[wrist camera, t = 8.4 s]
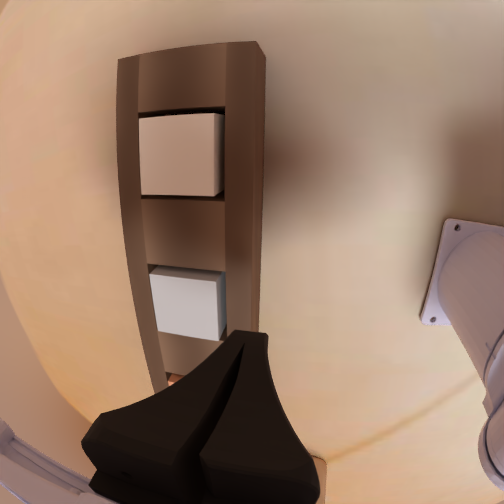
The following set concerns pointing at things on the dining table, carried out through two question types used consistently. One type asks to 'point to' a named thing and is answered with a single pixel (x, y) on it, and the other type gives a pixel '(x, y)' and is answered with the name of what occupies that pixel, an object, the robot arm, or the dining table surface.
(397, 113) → the dining table surface
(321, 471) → the candle
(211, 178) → the beige cube
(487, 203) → the dining table surface
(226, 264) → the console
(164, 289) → the light gray cube
